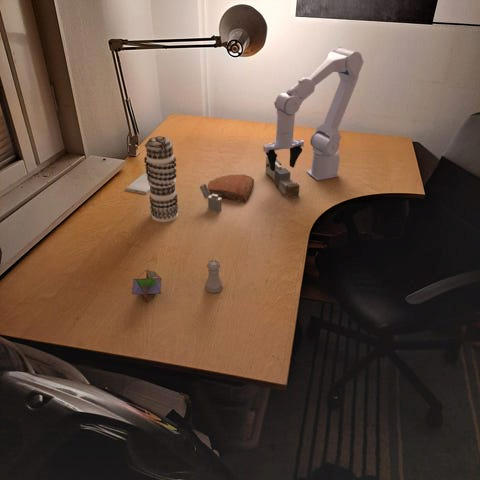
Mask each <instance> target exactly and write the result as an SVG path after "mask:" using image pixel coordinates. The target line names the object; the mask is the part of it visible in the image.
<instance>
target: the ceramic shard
mask: <svg viewBox="0 0 480 480" xmlns="http://www.w3.org/2000/svg"><path fill="white" fill-rule="evenodd" d="M254 184H255V180H254V177H252V176H250V175H246V174H228V175H224V176H219V177H216V178H214V179H211V180H210V181H208V184H207V188H208V191H209V193H210V194H211V195H212V194H216V195H218V197H220V198H223V199H225V198H227V199H231V200H234V201H239V202H241V203H246V202H247V201H248V198H249V196H250V194H251V191H252V188H253V186H254Z"/></svg>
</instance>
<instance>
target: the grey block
mask: <svg viewBox="0 0 480 480" xmlns="http://www.w3.org/2000/svg"><path fill="white" fill-rule="evenodd" d="M284 179H291V172H290V171H289V170H288V168H286V167H284V168H283V167H282V169H276V170H275V177H274V179H273V182H274V184H275V185H276V186H277V187H278V188H279V185H280V180H284Z"/></svg>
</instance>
